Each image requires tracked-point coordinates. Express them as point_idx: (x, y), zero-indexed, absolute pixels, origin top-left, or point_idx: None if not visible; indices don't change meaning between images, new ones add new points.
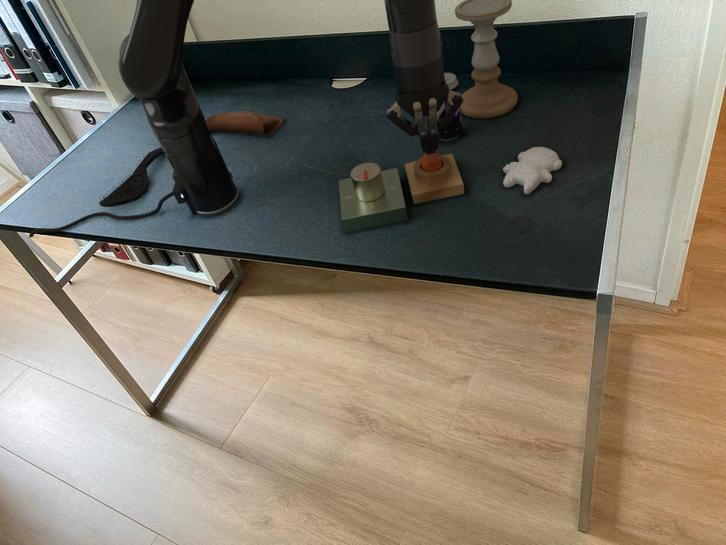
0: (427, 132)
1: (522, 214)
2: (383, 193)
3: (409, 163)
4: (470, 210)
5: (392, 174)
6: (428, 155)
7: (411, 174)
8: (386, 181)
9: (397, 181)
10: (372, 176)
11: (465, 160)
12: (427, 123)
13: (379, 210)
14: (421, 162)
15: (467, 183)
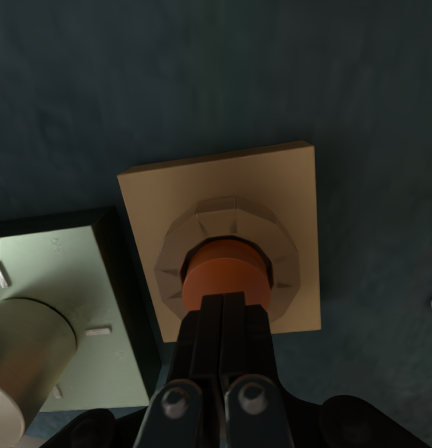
0: (221, 402)
1: (429, 394)
2: (74, 353)
3: (136, 178)
4: (314, 361)
5: (82, 262)
6: (216, 277)
7: (151, 248)
8: (69, 295)
9: (108, 303)
10: (5, 444)
11: (351, 129)
12: (226, 425)
13: (81, 405)
14: (187, 308)
15: (329, 261)
